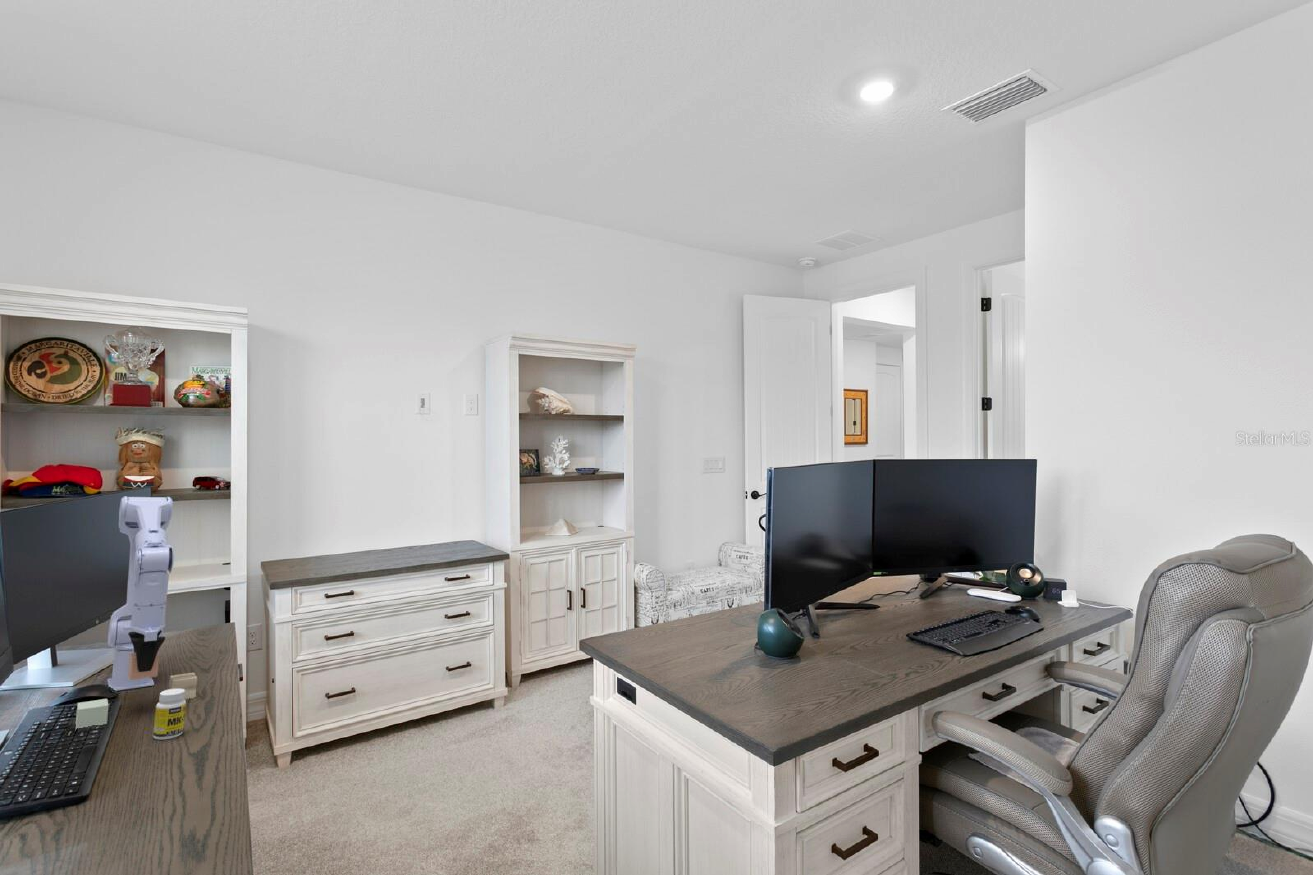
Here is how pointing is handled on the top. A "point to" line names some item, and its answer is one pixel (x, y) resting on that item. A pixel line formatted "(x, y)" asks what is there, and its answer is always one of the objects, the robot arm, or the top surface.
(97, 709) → the sage block
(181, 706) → the supplement bottle
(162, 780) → the top surface
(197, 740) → the top surface
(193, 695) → the birch block
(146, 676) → the terracotta block
